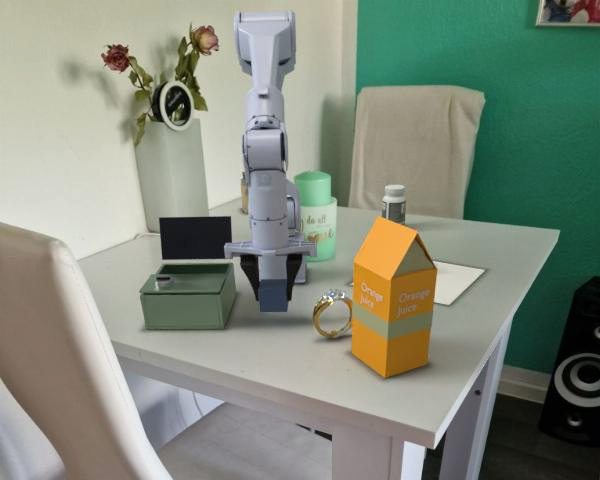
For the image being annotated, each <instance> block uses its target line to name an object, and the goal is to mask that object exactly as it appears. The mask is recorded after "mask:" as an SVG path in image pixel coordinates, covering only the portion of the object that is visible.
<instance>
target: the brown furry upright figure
mask: <svg viewBox="0 0 600 480" xmlns="http://www.w3.org/2000/svg"><path fill="white" fill-rule="evenodd" d="M241 175H242V178H241V179H240V194H241V206H242V212H244V213H245V214H248V202H249V197H248V194H249V192H248V189H249V188H248V186H247V185H246V176H245V171H242V172H241Z"/></svg>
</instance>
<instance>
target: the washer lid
mask: <svg viewBox="0 0 600 480" xmlns="http://www.w3.org/2000/svg"><path fill="white" fill-rule="evenodd" d="M158 224H159V236H160V248H161V249H160V250H161V260H162V261H170V260H171V261H178V260H179V261H180V260H185V261H187V260H190V261H191V260H227V259H226V258H225V251H224V246H225V244H226V243H233V231H232V230H233V229H232V216H230V215H220V216H164V217H163V216H161V217H158ZM233 259H234V257H232V258H230V259H229V260H233Z"/></svg>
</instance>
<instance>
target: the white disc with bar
mask: <svg viewBox="0 0 600 480" xmlns="http://www.w3.org/2000/svg"><path fill="white" fill-rule="evenodd" d="M154 285H155V287H156V288H169V287H172V286H173V285H174V279H173V277H172V276H159V277H156V278H155V279H154Z"/></svg>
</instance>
